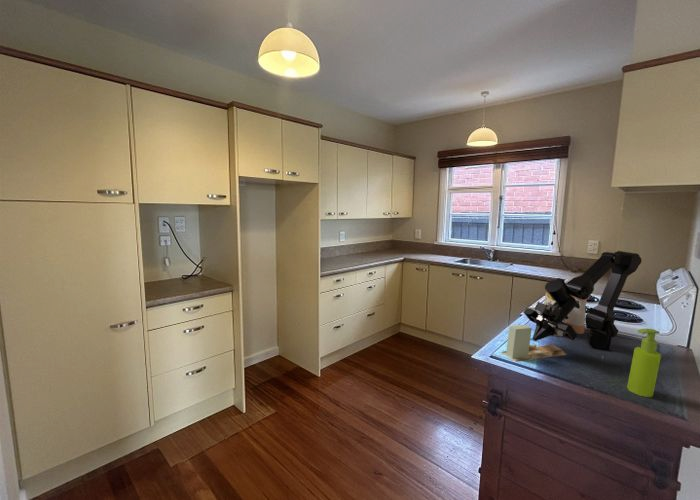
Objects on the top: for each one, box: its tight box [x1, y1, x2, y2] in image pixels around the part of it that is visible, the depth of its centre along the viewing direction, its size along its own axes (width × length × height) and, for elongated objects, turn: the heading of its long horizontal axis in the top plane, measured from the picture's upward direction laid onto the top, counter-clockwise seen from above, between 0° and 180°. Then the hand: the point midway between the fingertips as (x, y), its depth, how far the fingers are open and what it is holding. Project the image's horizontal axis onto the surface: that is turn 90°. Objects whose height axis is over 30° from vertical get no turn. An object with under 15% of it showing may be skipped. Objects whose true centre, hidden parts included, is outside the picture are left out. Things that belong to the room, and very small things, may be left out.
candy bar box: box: [543, 291, 566, 338], centre depth 139 cm, size 11×5×16 cm, turn 168°
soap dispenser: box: [626, 328, 662, 398], centre depth 95 cm, size 6×7×20 cm
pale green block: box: [505, 323, 533, 360], centre depth 114 cm, size 7×3×11 cm, turn 106°
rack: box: [500, 344, 567, 363], centre depth 117 cm, size 24×7×2 cm, turn 106°
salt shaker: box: [565, 296, 590, 335], centre depth 140 cm, size 7×7×19 cm
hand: (533, 339), depth 116 cm, fingers closed
